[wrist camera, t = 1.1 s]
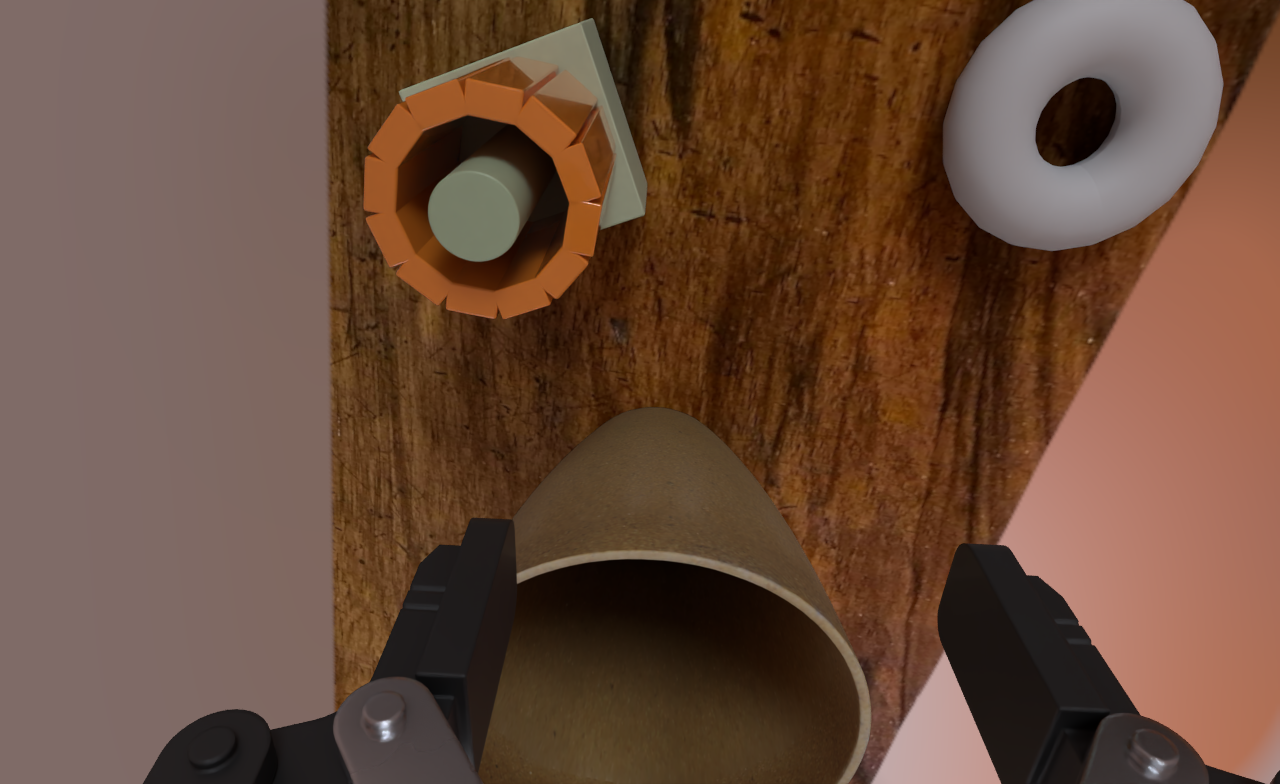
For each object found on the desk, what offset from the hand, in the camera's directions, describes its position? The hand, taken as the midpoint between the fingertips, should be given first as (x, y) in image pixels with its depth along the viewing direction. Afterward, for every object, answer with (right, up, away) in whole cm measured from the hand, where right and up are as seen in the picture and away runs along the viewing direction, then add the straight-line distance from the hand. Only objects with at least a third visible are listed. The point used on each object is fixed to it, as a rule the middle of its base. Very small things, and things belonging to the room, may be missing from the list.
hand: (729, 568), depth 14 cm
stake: (-6, +14, +18) cm, 23 cm away
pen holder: (-6, +12, +13) cm, 19 cm away
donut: (+15, +14, +17) cm, 27 cm away
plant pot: (-1, 0, +26) cm, 26 cm away
